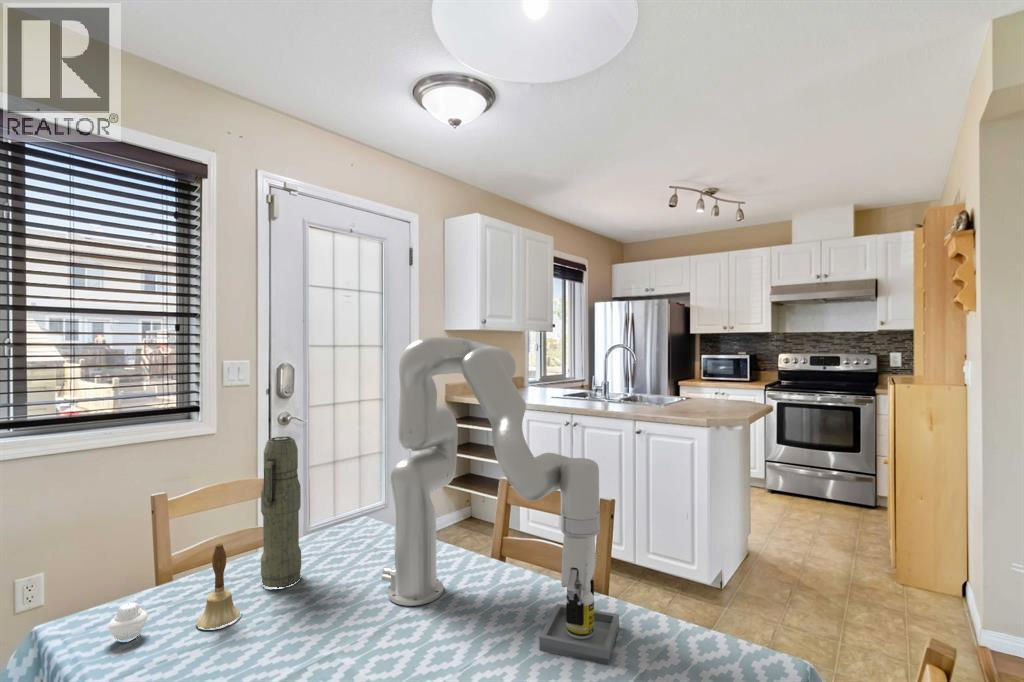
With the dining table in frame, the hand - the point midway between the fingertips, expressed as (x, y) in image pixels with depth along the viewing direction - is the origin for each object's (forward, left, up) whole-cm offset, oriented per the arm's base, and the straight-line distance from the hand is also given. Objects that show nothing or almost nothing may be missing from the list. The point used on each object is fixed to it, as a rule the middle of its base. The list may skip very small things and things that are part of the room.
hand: (580, 610), depth 99 cm
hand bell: (-73, -19, -6) cm, 76 cm away
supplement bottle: (0, 0, -4) cm, 5 cm away
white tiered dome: (-84, -30, -6) cm, 89 cm away
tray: (0, 0, -5) cm, 5 cm away
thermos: (-74, -1, -6) cm, 74 cm away
